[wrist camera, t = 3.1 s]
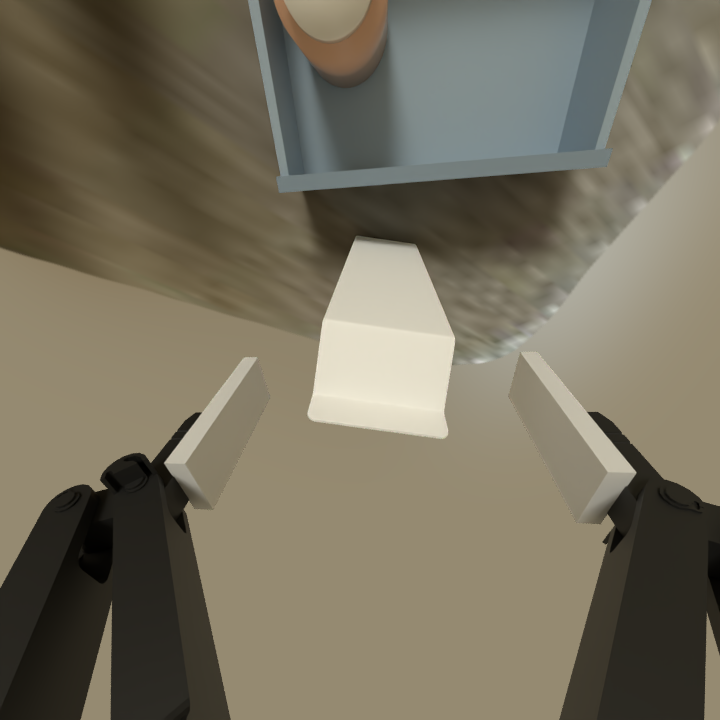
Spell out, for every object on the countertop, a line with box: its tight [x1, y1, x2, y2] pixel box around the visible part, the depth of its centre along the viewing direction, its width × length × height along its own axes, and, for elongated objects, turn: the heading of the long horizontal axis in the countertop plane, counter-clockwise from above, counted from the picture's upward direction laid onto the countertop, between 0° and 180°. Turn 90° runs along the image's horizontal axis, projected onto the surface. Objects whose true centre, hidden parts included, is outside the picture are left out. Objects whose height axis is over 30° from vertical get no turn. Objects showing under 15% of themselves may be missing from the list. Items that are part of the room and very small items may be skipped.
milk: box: [308, 236, 455, 439], centre depth 21 cm, size 6×6×22 cm
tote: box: [248, 0, 652, 193], centre depth 18 cm, size 22×16×6 cm
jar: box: [274, 0, 388, 88], centre depth 17 cm, size 6×6×8 cm
